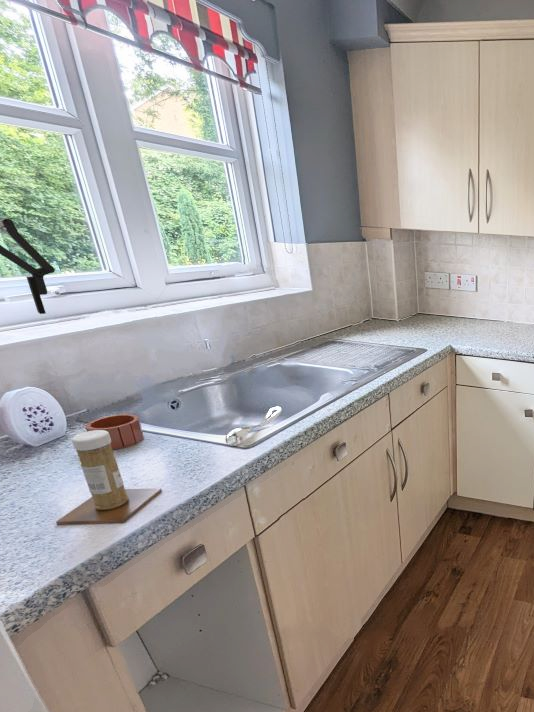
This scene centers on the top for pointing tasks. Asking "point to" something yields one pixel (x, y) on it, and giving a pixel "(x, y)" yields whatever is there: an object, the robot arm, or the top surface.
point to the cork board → (120, 514)
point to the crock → (119, 429)
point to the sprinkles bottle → (100, 469)
